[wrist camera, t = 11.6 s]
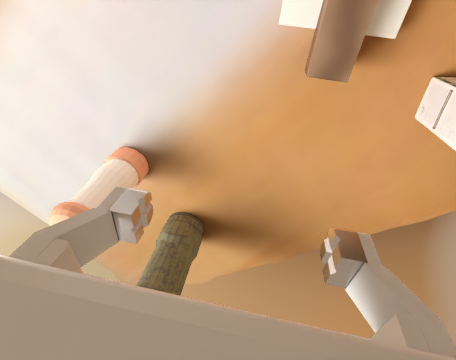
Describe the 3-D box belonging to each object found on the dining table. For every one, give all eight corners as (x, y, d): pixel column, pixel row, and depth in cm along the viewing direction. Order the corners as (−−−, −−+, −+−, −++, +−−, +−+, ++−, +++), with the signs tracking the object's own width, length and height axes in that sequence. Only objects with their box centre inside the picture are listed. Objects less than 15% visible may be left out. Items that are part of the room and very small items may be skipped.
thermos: (179, 201, 52) (62, 431, 24) (216, 234, 56) (153, 463, 28) (155, 217, 56) (32, 427, 28) (191, 246, 60) (114, 455, 33)
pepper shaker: (127, 139, 45) (48, 210, 30) (156, 167, 48) (97, 245, 32) (106, 158, 49) (27, 230, 33) (134, 183, 51) (72, 260, 36)
